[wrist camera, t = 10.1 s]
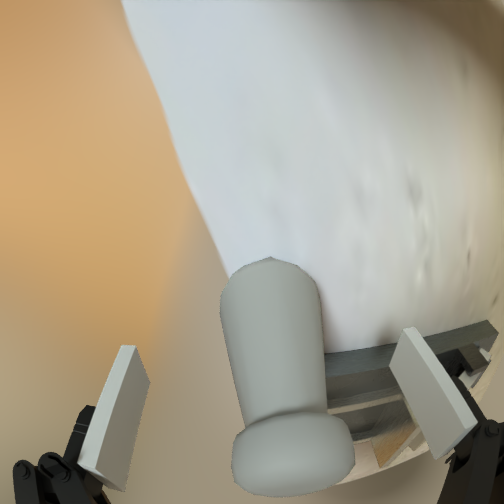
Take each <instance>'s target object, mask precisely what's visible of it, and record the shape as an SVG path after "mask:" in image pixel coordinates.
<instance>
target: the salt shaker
mask: <svg viewBox="0 0 504 504" xmlns="http://www.w3.org/2000/svg"><path fill="white" fill-rule="evenodd" d="M220 318H221V323H222V328H223V333H224V337H225V342H226V346H227V351H228V356H229V360H230V365H231V369H232V374H233V378H234V383H235V387H236V391H237V395H238V400H239V404H240V407H241V412H242V416H243V420H244V423H245V429H244V430H243V431H241V432H240V433H239V434H237V436H236V438H235V440H234V442H233V451H232V462H231V469H232V473H233V478H234V482H235V483H236V484H237V485H239V486H240V487H241V488H242V489H244V490H245V491H247V492H249V493H251V494H254V495H260V496H267V497H294V496H301V495H306V494H310V493H314V492H318V491H321V490H323V489H325V488H328V487H330V486H332V485H334V484H336V483H338V482H340V481H342V480H343V479H344V478H345V477H346V476H347V475H348V474H349V473H350V471H351V470H352V468H353V467H354V465H355V452H354V444H353V440H352V437H351V434H350V431H349V429H348V426H347V425H346V423H345V422H344V421H343V420H342V419H340V418H338V417H335V416H333V415H330V414H328V412H327V395H326V381H325V361H324V344H323V330H322V317H321V305H320V298H319V294H318V291H317V287H316V284H315V281H314V280H313V279H312V278H311V277H310V276H309V275H308V274H306V273H305V272H304V271H303V270H302V269H301V268H300V267H298V266H297V265H294V264H291V263H288V262H284V261H281V260H278V259H275V258H273V257H268V258H265V259H262V260H260V261H257V262H253V263H251V264H248V265H245V266H243V267H242V268H240V269H239V270H238V271H236V272H235V273H234V274H233V275H232V276H231V278H230V280H229V281H228V283H227V285H226V286H225V288H224V290H223V291H222V294H221V300H220Z"/></svg>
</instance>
